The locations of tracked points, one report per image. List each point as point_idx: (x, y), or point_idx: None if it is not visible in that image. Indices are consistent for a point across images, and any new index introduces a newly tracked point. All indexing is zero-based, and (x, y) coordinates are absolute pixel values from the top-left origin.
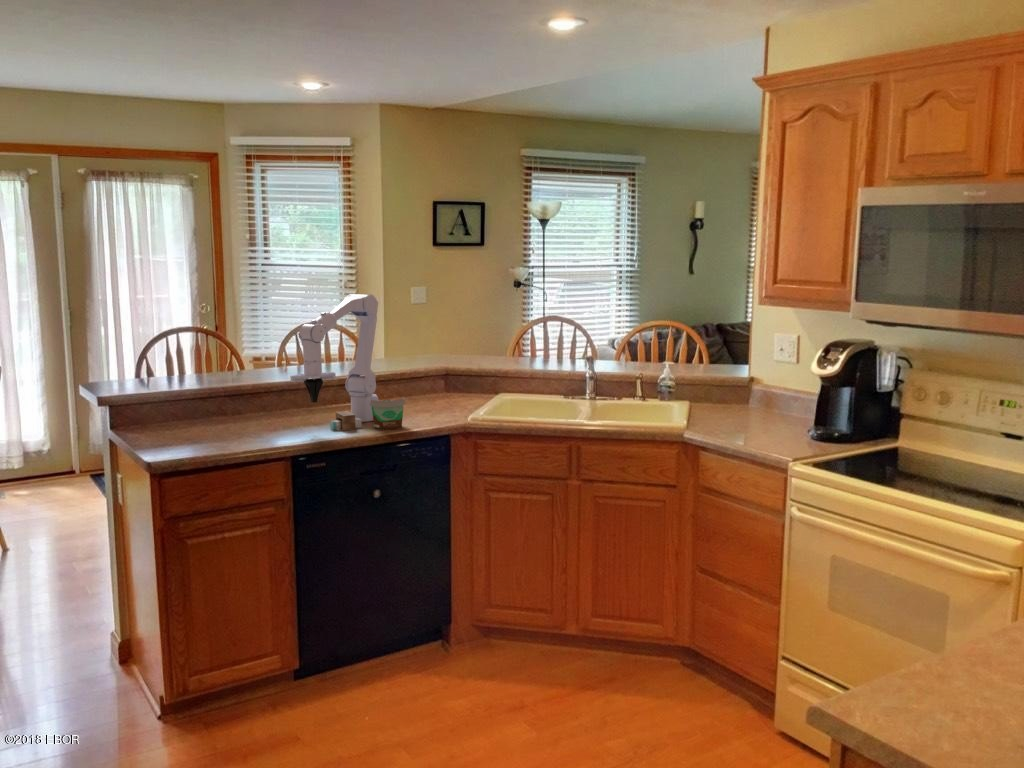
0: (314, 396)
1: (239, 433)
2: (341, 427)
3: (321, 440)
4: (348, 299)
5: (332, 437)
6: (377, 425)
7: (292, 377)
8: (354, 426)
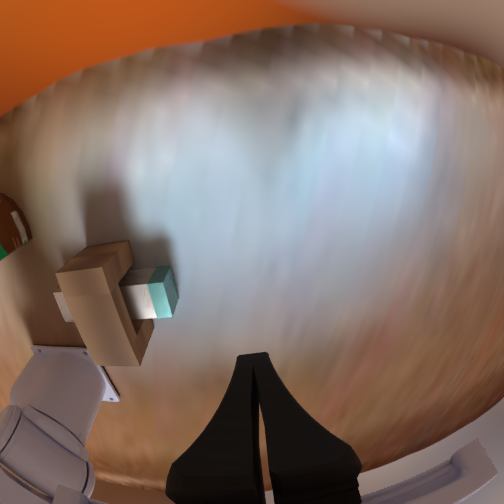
0: (261, 378)
1: (450, 324)
2: (133, 273)
3: (260, 82)
4: None
5: (198, 122)
6: (15, 218)
7: (493, 468)
8: (84, 251)
